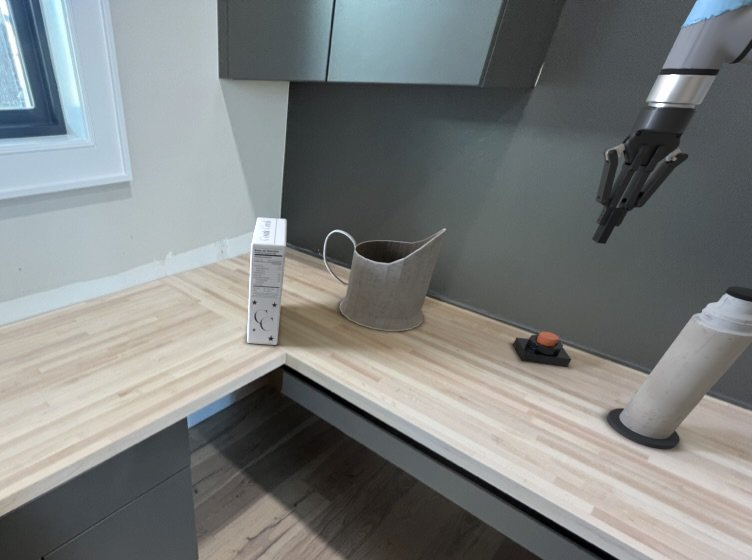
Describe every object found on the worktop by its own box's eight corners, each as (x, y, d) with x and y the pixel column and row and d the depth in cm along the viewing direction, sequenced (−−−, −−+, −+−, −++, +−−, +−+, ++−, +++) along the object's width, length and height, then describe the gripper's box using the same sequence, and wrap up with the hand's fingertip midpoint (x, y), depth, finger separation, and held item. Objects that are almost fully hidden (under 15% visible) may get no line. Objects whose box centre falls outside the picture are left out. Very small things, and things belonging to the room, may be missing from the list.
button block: (555, 350, 106) (563, 336, 104) (567, 367, 100) (575, 352, 97) (512, 344, 108) (519, 330, 105) (521, 360, 102) (528, 346, 99)
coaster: (657, 416, 85) (660, 413, 85) (690, 453, 77) (693, 450, 76) (597, 407, 87) (599, 404, 87) (622, 442, 79) (624, 439, 78)
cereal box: (253, 306, 122) (257, 217, 107) (278, 307, 122) (286, 218, 107) (246, 343, 105) (251, 243, 90) (277, 345, 104) (286, 245, 90)
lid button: (551, 340, 103) (555, 332, 102) (557, 348, 100) (561, 340, 98) (533, 337, 104) (537, 330, 102) (539, 345, 100) (542, 338, 99)
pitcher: (408, 339, 108) (438, 242, 94) (300, 307, 122) (311, 218, 108) (431, 308, 124) (459, 221, 109) (333, 282, 138) (346, 202, 123)
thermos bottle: (659, 417, 84) (766, 285, 67) (678, 443, 78) (801, 305, 61) (612, 408, 86) (706, 278, 69) (627, 433, 80) (734, 297, 63)
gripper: (700, 106, 75) (625, 239, 89) (618, 103, 77) (557, 233, 91) (728, 108, 69) (643, 250, 83) (638, 105, 72) (570, 243, 85)
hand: (598, 241), depth 87 cm, fingers closed
